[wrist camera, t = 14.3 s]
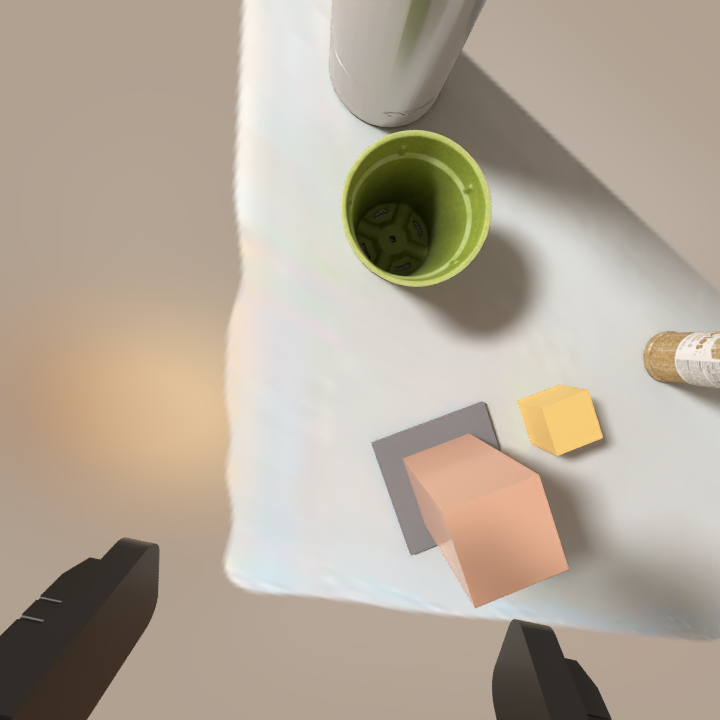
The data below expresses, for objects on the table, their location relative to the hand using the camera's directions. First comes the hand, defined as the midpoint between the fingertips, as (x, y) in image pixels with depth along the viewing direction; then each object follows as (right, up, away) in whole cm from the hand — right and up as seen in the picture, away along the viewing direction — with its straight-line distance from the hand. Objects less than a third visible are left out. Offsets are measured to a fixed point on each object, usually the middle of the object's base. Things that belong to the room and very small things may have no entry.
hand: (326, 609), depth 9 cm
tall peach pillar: (+8, -4, +26) cm, 27 cm away
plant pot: (+3, +15, +25) cm, 29 cm away
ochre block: (+17, +1, +27) cm, 32 cm away
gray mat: (+8, -4, +26) cm, 28 cm away
